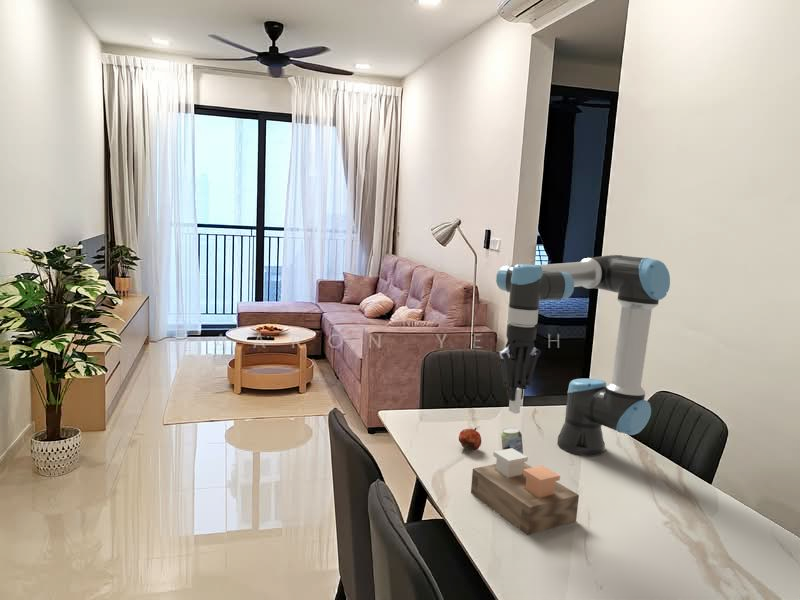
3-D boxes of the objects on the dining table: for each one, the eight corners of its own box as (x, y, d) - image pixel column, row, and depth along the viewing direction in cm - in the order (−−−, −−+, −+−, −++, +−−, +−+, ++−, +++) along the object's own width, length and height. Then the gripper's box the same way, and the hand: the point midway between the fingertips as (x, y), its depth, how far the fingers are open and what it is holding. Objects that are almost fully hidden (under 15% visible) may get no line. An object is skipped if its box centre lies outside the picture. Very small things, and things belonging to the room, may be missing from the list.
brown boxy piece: (516, 482, 171) (518, 459, 170) (576, 521, 152) (578, 495, 150) (470, 492, 163) (472, 468, 162) (527, 534, 144) (530, 507, 143)
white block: (509, 475, 166) (512, 448, 165) (525, 485, 161) (527, 457, 160) (491, 479, 163) (493, 451, 162) (506, 489, 158) (508, 460, 157)
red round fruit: (475, 462, 189) (491, 438, 194) (465, 447, 185) (482, 423, 190) (457, 457, 194) (473, 433, 199) (448, 442, 191) (464, 418, 196)
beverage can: (523, 473, 177) (527, 435, 175) (498, 470, 179) (501, 432, 177) (523, 465, 183) (526, 427, 182) (499, 462, 185) (502, 424, 183)
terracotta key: (539, 494, 156) (542, 465, 155) (556, 505, 151) (560, 475, 149) (520, 499, 153) (523, 469, 152) (537, 510, 147) (540, 480, 146)
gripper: (531, 320, 162) (523, 404, 165) (493, 322, 155) (485, 409, 159) (551, 325, 155) (542, 413, 159) (511, 328, 149) (503, 419, 153)
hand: (514, 411), depth 159 cm, fingers closed
